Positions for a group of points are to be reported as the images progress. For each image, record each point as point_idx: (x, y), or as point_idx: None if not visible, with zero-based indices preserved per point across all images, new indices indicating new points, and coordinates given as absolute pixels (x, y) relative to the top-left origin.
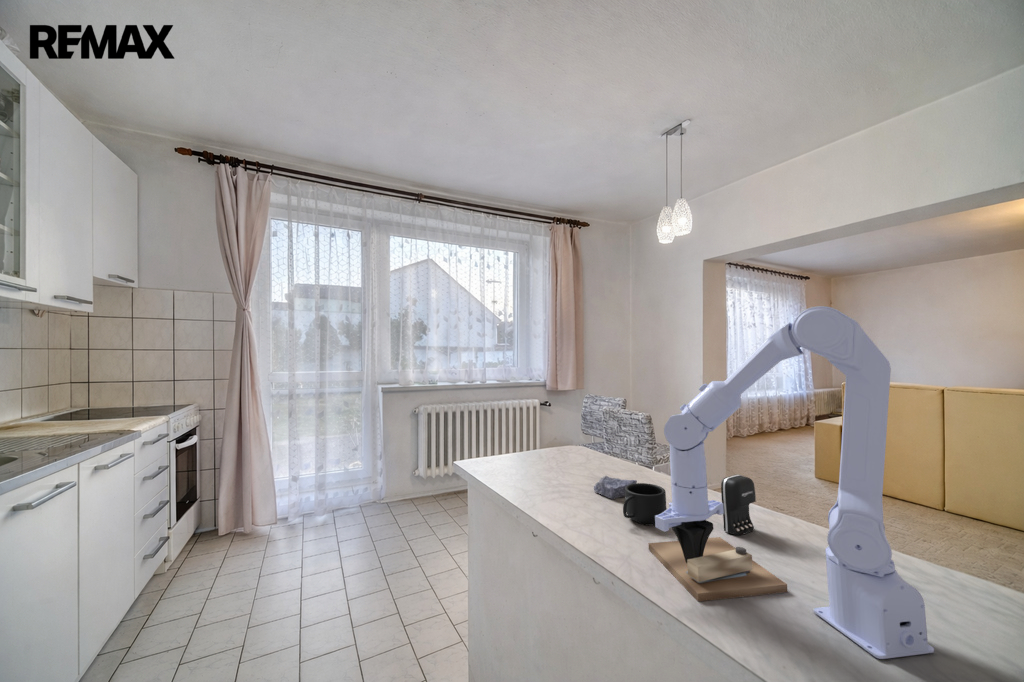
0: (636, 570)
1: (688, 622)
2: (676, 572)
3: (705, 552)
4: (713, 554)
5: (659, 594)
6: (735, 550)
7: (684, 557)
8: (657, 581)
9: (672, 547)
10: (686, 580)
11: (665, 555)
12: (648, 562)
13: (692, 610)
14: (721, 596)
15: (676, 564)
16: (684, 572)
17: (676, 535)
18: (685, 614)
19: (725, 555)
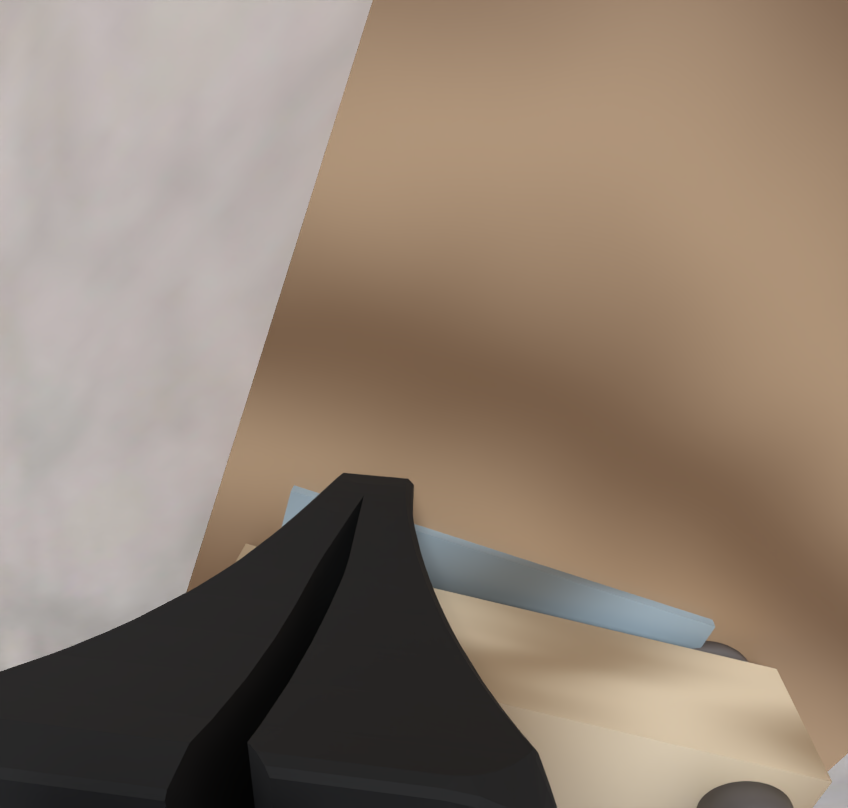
0: (29, 120)
1: (20, 663)
2: (238, 431)
3: (791, 376)
4: (499, 704)
5: (17, 454)
6: (753, 773)
7: (326, 487)
8: (100, 347)
9: (614, 80)
10: (213, 541)
11: (376, 178)
12: (231, 66)
13: (104, 631)
14: None
15: (328, 364)
16: (287, 475)
17: (160, 610)
18: (46, 629)
19: (571, 764)
